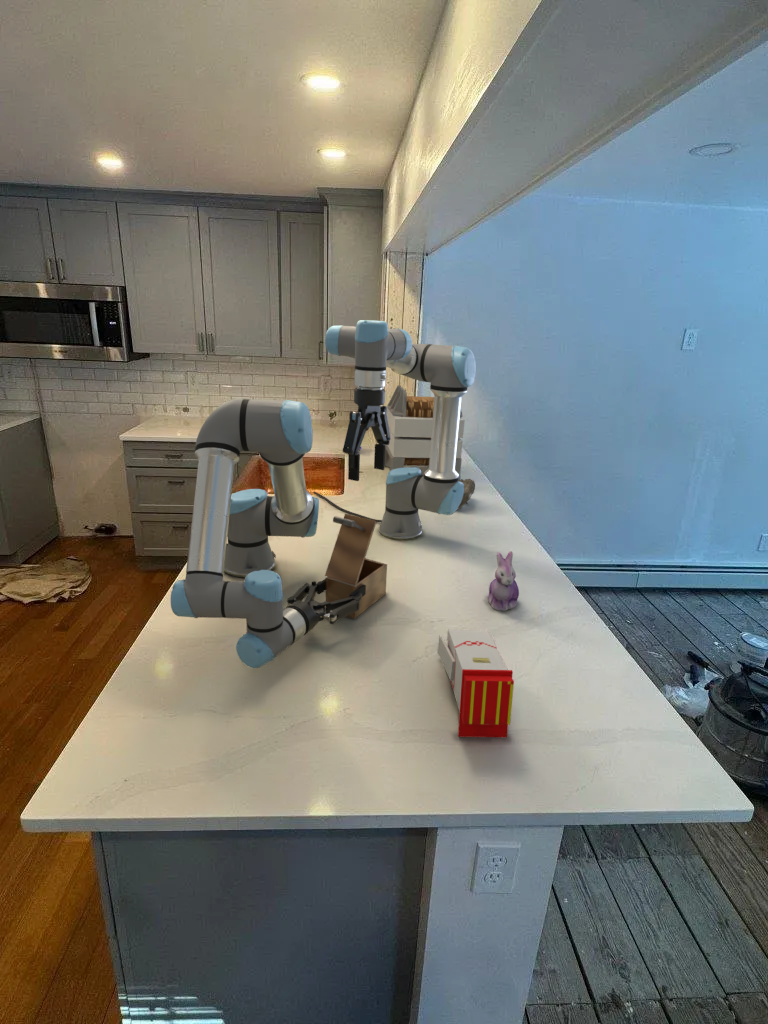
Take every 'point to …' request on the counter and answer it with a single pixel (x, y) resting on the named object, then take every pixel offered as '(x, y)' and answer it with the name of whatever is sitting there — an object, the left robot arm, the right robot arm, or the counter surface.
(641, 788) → the counter surface
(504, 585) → the figurine
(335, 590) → the chest
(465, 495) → the fossil
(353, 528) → the door
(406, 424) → the white wooden crate
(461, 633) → the toy
